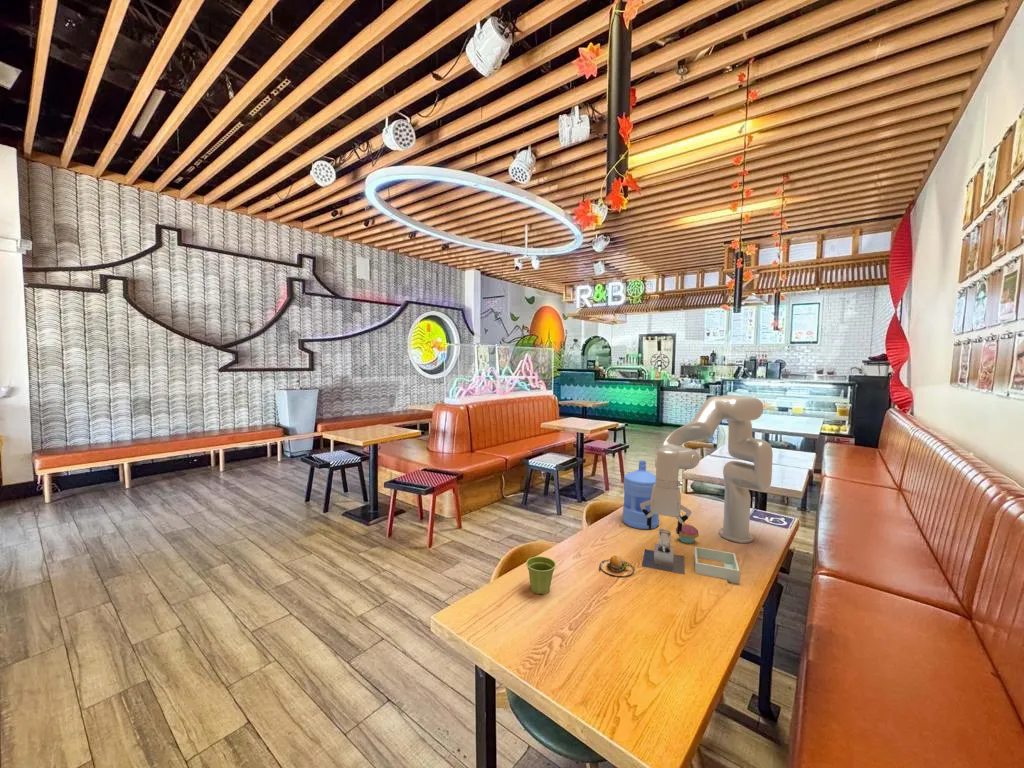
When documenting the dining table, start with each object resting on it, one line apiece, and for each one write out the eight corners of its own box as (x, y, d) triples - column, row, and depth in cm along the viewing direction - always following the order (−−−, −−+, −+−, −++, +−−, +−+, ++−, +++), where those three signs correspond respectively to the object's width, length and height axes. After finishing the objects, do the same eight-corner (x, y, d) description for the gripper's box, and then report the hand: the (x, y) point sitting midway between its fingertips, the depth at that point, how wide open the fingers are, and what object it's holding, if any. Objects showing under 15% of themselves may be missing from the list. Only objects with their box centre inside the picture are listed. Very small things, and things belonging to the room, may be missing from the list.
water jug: (634, 513, 199) (636, 455, 197) (665, 523, 188) (667, 462, 185) (615, 522, 189) (617, 460, 186) (647, 533, 177) (649, 468, 175)
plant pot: (539, 578, 141) (539, 553, 140) (561, 589, 134) (561, 563, 134) (519, 589, 134) (520, 562, 134) (541, 601, 128) (542, 574, 127)
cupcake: (675, 544, 167) (676, 515, 166) (675, 536, 174) (676, 508, 174) (698, 548, 163) (700, 519, 163) (697, 540, 171) (699, 511, 170)
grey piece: (654, 555, 156) (655, 526, 155) (673, 558, 153) (674, 529, 152) (653, 563, 150) (654, 533, 149) (672, 567, 147) (674, 536, 146)
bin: (694, 558, 156) (694, 546, 155) (734, 565, 151) (734, 553, 150) (695, 576, 143) (695, 563, 143) (738, 584, 139) (739, 570, 138)
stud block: (644, 551, 161) (645, 539, 160) (684, 558, 155) (684, 545, 155) (641, 569, 148) (642, 555, 147) (684, 577, 142) (685, 563, 142)
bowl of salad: (640, 572, 146) (641, 551, 146) (623, 585, 138) (624, 563, 137) (609, 560, 154) (610, 540, 154) (592, 572, 146) (593, 551, 145)
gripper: (692, 484, 149) (689, 530, 151) (642, 477, 156) (639, 522, 157) (693, 489, 143) (690, 538, 144) (640, 482, 149) (637, 529, 150)
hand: (663, 530), depth 150 cm, fingers open, 9 cm apart
